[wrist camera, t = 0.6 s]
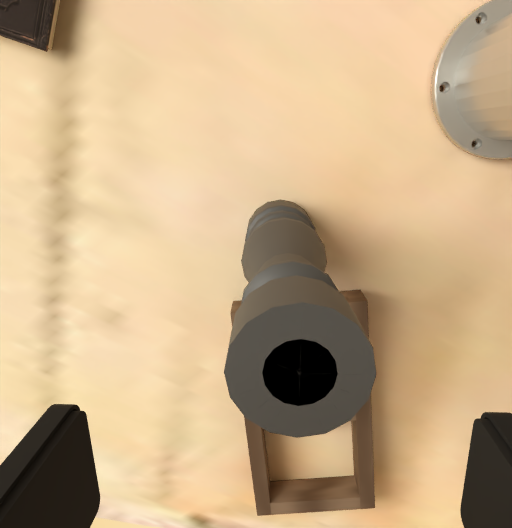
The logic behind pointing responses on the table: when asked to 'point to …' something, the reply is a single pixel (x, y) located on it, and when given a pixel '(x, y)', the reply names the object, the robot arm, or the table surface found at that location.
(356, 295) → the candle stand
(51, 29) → the hardcover book
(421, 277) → the table surface
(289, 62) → the table surface
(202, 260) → the table surface
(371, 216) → the table surface
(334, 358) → the candle holder
